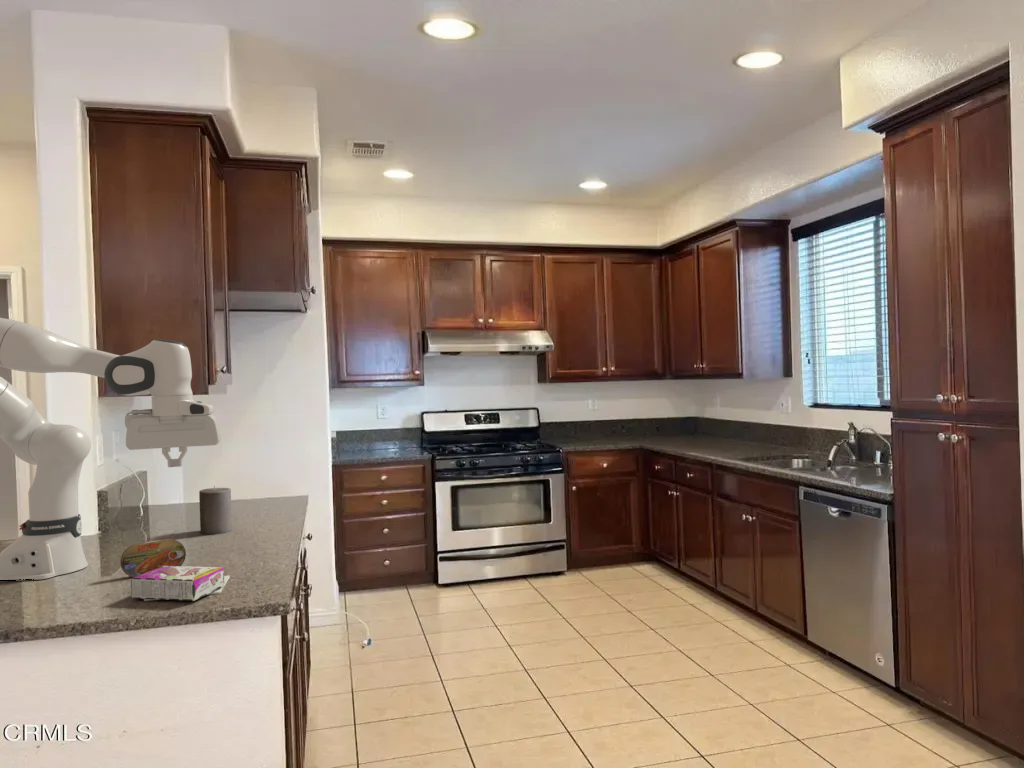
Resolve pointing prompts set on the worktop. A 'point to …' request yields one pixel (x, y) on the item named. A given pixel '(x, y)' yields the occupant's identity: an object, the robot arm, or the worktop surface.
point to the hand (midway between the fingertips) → (175, 466)
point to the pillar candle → (215, 510)
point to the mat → (208, 594)
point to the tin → (152, 556)
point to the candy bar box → (177, 583)
